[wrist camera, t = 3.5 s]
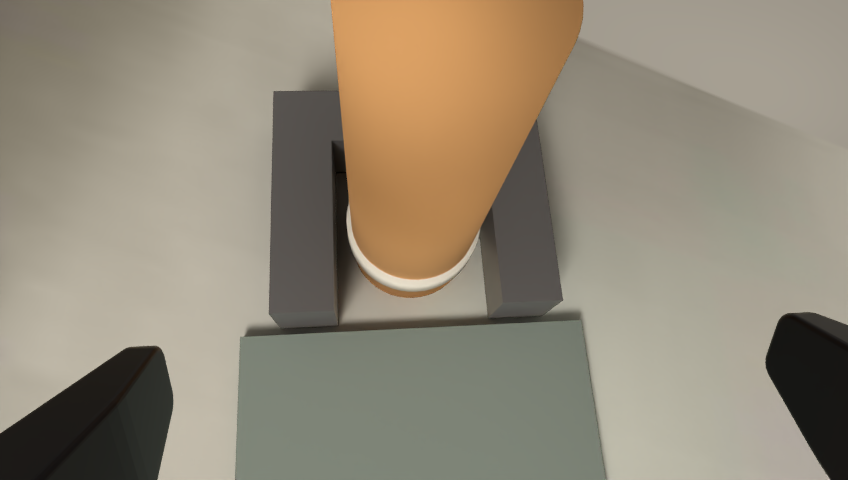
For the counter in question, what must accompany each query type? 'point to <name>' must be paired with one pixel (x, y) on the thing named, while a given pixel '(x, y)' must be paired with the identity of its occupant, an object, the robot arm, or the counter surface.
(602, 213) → the counter surface
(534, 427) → the mat
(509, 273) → the dark grey piece
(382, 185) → the orange peg
